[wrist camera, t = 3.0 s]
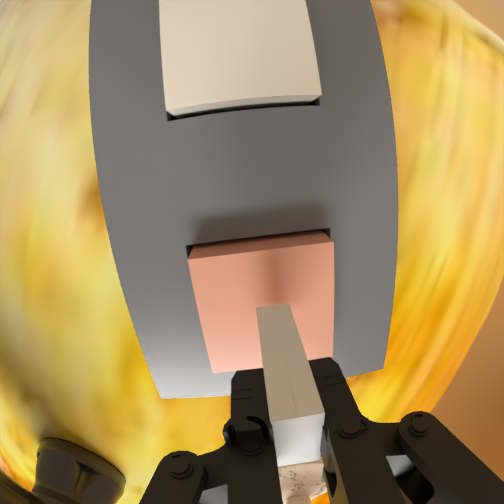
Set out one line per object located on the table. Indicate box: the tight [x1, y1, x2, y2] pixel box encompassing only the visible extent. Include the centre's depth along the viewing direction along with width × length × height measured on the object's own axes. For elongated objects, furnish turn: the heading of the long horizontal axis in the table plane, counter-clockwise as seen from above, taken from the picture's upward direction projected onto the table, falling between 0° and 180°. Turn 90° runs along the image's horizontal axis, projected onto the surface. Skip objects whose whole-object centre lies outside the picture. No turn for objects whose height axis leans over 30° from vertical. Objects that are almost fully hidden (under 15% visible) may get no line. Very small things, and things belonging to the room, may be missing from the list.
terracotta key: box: [188, 229, 334, 373], centre depth 17 cm, size 7×7×4 cm
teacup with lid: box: [278, 456, 327, 504], centre depth 22 cm, size 12×9×12 cm
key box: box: [89, 0, 398, 398], centre depth 17 cm, size 16×28×6 cm, turn 6°
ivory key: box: [159, 0, 322, 119], centre depth 13 cm, size 7×7×4 cm
